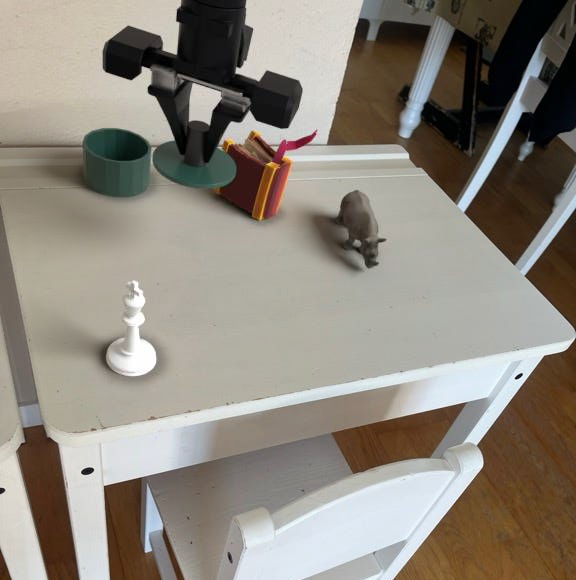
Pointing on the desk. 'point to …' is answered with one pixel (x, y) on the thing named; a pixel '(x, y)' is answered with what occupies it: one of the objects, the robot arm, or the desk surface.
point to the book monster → (259, 174)
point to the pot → (116, 162)
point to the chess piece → (131, 339)
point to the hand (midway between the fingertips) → (195, 157)
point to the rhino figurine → (360, 226)
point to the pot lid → (194, 161)
